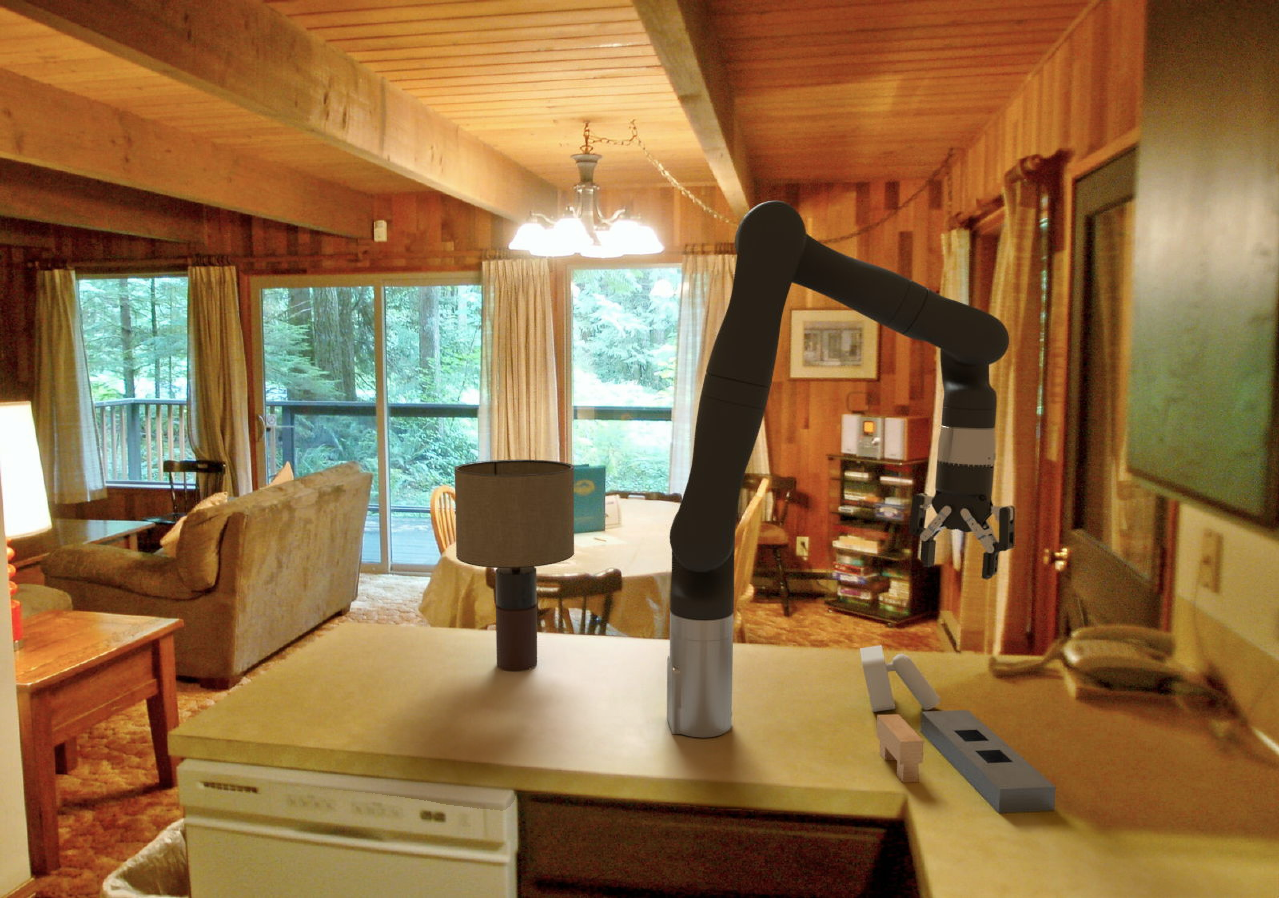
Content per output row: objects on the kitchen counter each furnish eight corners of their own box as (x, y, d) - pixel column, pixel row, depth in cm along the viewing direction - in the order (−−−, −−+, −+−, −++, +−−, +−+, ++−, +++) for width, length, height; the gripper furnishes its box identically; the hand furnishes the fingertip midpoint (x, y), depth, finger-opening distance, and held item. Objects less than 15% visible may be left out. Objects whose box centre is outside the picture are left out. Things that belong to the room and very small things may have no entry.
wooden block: (921, 781, 108) (923, 740, 108) (899, 782, 108) (900, 741, 108) (896, 752, 116) (898, 714, 116) (875, 753, 116) (877, 714, 115)
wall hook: (945, 716, 127) (932, 652, 126) (875, 726, 129) (861, 663, 128) (938, 695, 134) (925, 635, 134) (872, 705, 137) (859, 645, 136)
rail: (1054, 810, 102) (1055, 786, 101) (998, 812, 101) (999, 789, 101) (966, 729, 124) (967, 709, 123) (920, 731, 123) (921, 711, 122)
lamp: (568, 686, 139) (567, 475, 135) (446, 685, 139) (441, 474, 135) (579, 644, 159) (578, 459, 155) (471, 643, 159) (468, 459, 155)
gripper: (905, 455, 121) (898, 566, 123) (1006, 466, 111) (997, 587, 113) (929, 452, 126) (922, 558, 128) (1027, 462, 116) (1018, 577, 118)
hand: (957, 571), depth 120 cm, fingers open, 8 cm apart
